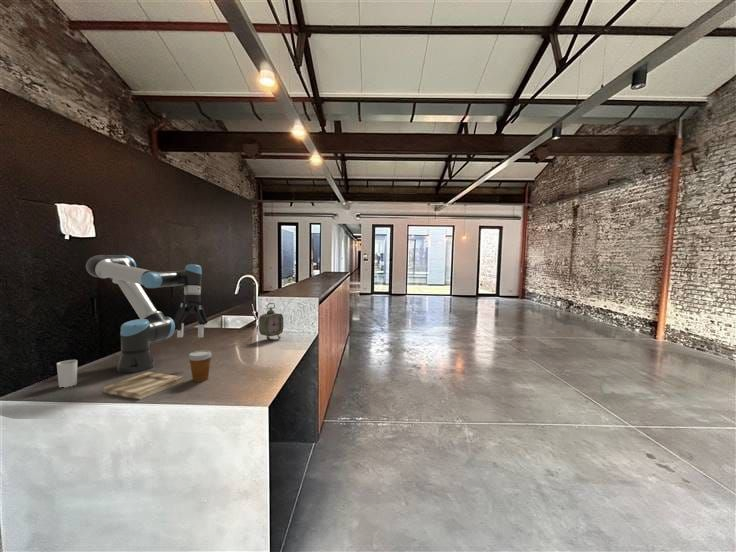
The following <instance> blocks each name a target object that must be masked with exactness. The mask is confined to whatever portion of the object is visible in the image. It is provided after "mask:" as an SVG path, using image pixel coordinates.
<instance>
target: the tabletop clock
mask: <svg viewBox="0 0 736 552" xmlns="http://www.w3.org/2000/svg"><path fill="white" fill-rule="evenodd" d="M269 305H274V306H273V307H272V306H270V308H269V307H268V306H269ZM275 307H276V305H275V303H274V302H269V303H268V304H267V305H266V309H267V312H266V313H263V314H261V315H260V316H259V317H258V331H259V334H260V335H261V336H266V340H265V342H266V343H269V340H271V339H270V338H271V337H275V336H277V337H278V339H279V340H280V339H282V338H281V336H280V335H281V334H283V332H284V316H283V313H278V312H276V311H275V310H274V308H275Z"/></svg>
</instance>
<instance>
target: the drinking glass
mask: <svg viewBox="0 0 736 552" xmlns="http://www.w3.org/2000/svg"><path fill="white" fill-rule="evenodd" d="M56 369H57V370H56V371H57V382H58V387H59V388H61V387H64V388H69V386H70V387H74V386H76V385H78V360H77V359H68V360H67V359H66V360H62V361H59V362H56ZM73 385H74V386H73Z"/></svg>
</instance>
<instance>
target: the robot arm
mask: <svg viewBox="0 0 736 552" xmlns="http://www.w3.org/2000/svg"><path fill="white" fill-rule="evenodd" d="M85 268H86V269H85V270H86V271H87V272H88V274H89V275H90V276H92V277H95V278H99V279H108V278H109V279H110V280H111V282H112V283H113V284H117V285H118V287H119V288H120V290H121V291H122V293H123V294H124V296H125V297H126V299H127V300H128V302H129V303H130V305H131V306H132V309H134V311H135V313H136V314H137V316H138V318H139V319H137V318H136V319H133V320H129V321H126V322H124V323H123V324H121V325H120V332H119V334H120V351H121V353H120V358H119V361H118V364H117V366H116V368H117V369H116V370H117V372H118V373H124V374H127V373H138V372H142V371H146V370H149V369H152V368H154V366H155V360H154V358H153V355H152V353H151V350H150V349H151V347H150V346H151V345H150V344H152V343H155V342H160V341H164V340H166V339H169V338H171V337H172V336H173V335H174V333H175V329H176V331H177V332H176V333H177V334H176V338H183V337H184V326H185V323H184V321H185V320H186V318H187V317H188V316H189V314H192V315H194V316H195V319H196V321H197V322H198V326H197V338H204V331H205V325H207V324H208V319H207V316H206V313H205V309H204V305H200V303H201V301H202V300H201V297H202V296H201V294H202V293H201V291H202V277H203V276H202V275H203V273H202V272H203V271H202V266H201V265H199V264H193V263H192V264H187V265H185V268H184V269H183V270H173V271H172V270H170V271H156V270H155V271H154V270H149V269H144V268H140V267H137V263H136V261H135V259H134V258H132V257H131V256H129V255H124V254H116V255H115V254H114V255H113V254H112V255H110V254H99V255H98V254H97V255H94V256H92V257H90V258H89V259H88V260H87V261H86V263H85ZM142 286H144V288H147V289H157V288H164V287H165V288H166V287H177V286H184V288H183V289H184V290H183V291H184V292H183V294H184V295H183V303H182V302H180V303H179V307H178V309H177V312H176V314H175V316H174V319H173V318H171V317H169V316H165V315H164V313H163V312H162V311H160V310H159V311H158V310H157V308H156V307H155V305H154V304H153V302H152V300H151V299H150V297H149V296H148V295H147V293H146V291H145V289H144V288H143V287H142Z"/></svg>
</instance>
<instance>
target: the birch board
mask: <svg viewBox="0 0 736 552" xmlns="http://www.w3.org/2000/svg"><path fill="white" fill-rule="evenodd" d="M183 382H184V377H183V376H181V375H180V376H179V375H173V374H165V373H160V372H159V373H158V372H152V371H148V372H145V373H142V374H139V375H135V376H133V377H130V378H127V379H124V380H121V381H119V382H118V381H117V382H116V383H113V384H110V385H107V386H104V387H103V393H104V394H109V395H113V394H114V395H113V396H119V397H125V398H131V399H137V400H143V399H144V398H147V397H149V396H152V395H155V394H157V393H159V392H161V391H164V390H166V389H169V388H171V387H174V386H176V385H178V384H181V383H183Z"/></svg>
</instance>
